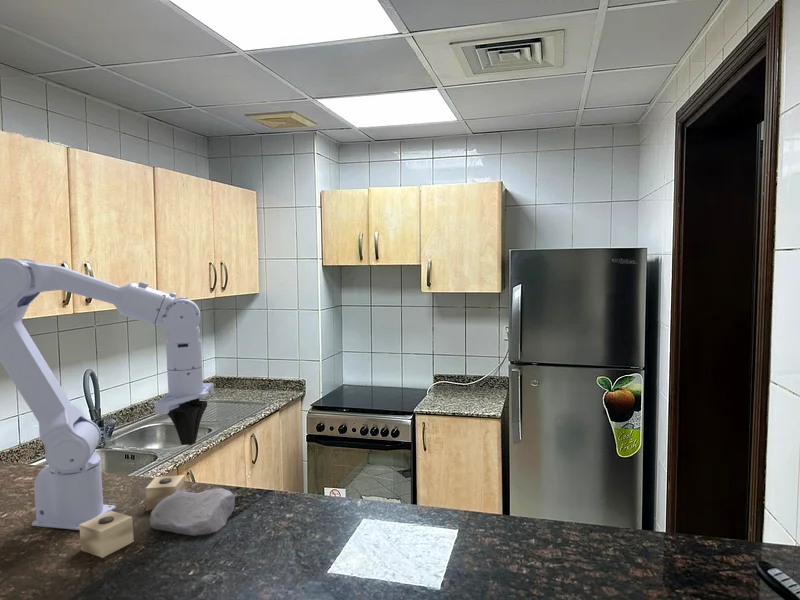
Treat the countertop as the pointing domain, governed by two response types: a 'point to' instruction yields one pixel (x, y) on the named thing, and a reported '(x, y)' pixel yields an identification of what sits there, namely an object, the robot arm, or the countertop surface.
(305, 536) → the countertop surface
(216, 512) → the stone block
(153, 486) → the beech block
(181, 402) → the robot arm
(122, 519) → the beech block
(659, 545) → the countertop surface
